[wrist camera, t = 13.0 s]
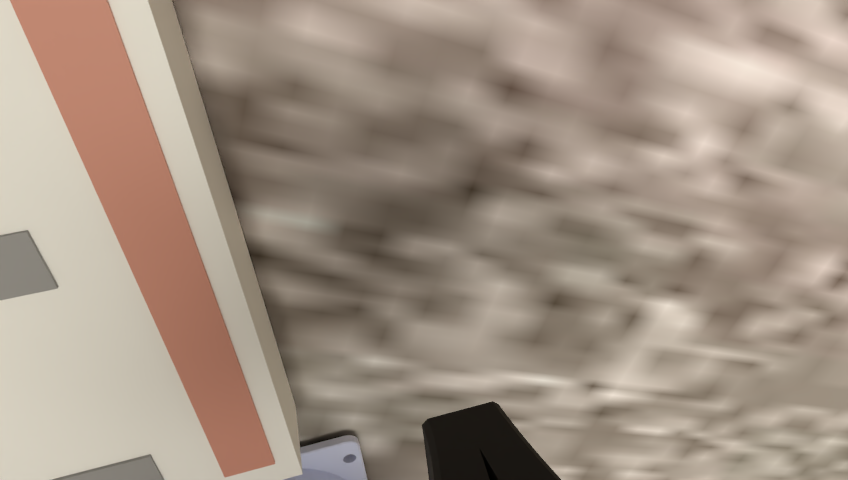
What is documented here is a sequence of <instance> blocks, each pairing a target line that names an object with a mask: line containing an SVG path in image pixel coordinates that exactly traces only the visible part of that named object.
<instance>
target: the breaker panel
mask: <svg viewBox="0 0 848 480" xmlns="http://www.w3.org/2000/svg"><path fill="white" fill-rule="evenodd" d="M302 474H303V473H302V463H301V453H300V442H299V432H298V422H297V412H296V405H295V402H294V399H293V396H292V392H291V389H290V386H289V382H288V379H287V376H286V373H285V369H284V366H283V363H282V359H281V356H280V353H279V350H278V346H277V343H276V340H275V337H274V333H273V330H272V327H271V323H270V320H269V317H268V314H267V310H266V307H265V304H264V300H263V297H262V294H261V291H260V287H259V284H258V281H257V277H256V274H255V271H254V268H253V264H252V261H251V258H250V255H249V251H248V248H247V245H246V241H245V238H244V235H243V232H242V228H241V225H240V222H239V218H238V215H237V212H236V209H235V205H234V202H233V199H232V196H231V192H230V189H229V186H228V182H227V179H226V176H225V173H224V169H223V166H222V163H221V159H220V156H219V153H218V150H217V146H216V143H215V140H214V136H213V133H212V130H211V127H210V123H209V120H208V117H207V114H206V110H205V107H204V104H203V100H202V97H201V94H200V91H199V87H198V84H197V81H196V77H195V74H194V71H193V68H192V64H191V61H190V58H189V55H188V51H187V48H186V45H185V41H184V38H183V35H182V32H181V28H180V25H179V22H178V18H177V15H176V12H175V9H174V5H173V2H172V0H0V480H283V479H287V478H291V477H294V476H298V475H302Z"/></svg>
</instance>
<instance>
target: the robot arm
mask: <svg viewBox="0 0 848 480" xmlns="http://www.w3.org/2000/svg"><path fill="white" fill-rule="evenodd" d="M422 427H423V435H424V443H425V450H426V458H427V466H428V474H429V480H561V479H560V478H559V477H558V476H557V475H556V474H555V472H554V471H553V470H552V469H551V468H550V467H549V466H548V465H547V464H546V462H545V461H544V460H543V459H542V458H541V457H540V456H539V454H538V453H537V452H536V451H535V450H534V449H533V447H532V446H531V445H530V444H529V443H528V442H527V440H526V439H525V438H524V437H523V435H522V434H521V433H520V432H519V431H518V429H517V428H516V427H515V426H514V424H513V423H512V422H511V420H510V419H509V418H508V417H507V415H506V414H505V413H504V411H503V410H502V408H501V407H500V406H499V404H497V403H495V402H489V403H486V404H482V405H478V406H474V407H471V408H467V409H463V410H459V411H456V412H452V413H448V414H444V415H441V416H437V417H433V418H429V419H427V420H426V421H425V422H424V424H423V425H422ZM300 453H301V463H302V473H303V474H302V475H298V476H294V477H291V478H287V479H283V480H367V475H366V471H365V466H364V462H363V458H362V453H361V449H360V444H359V440H358V439H357V437H355V436H352V435H346V436H341V437H338V438H334V439H330V440H326V441H323V442H319V443H315V444H311V445H307V446H304V447H300ZM349 454H350V455H349Z"/></svg>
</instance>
